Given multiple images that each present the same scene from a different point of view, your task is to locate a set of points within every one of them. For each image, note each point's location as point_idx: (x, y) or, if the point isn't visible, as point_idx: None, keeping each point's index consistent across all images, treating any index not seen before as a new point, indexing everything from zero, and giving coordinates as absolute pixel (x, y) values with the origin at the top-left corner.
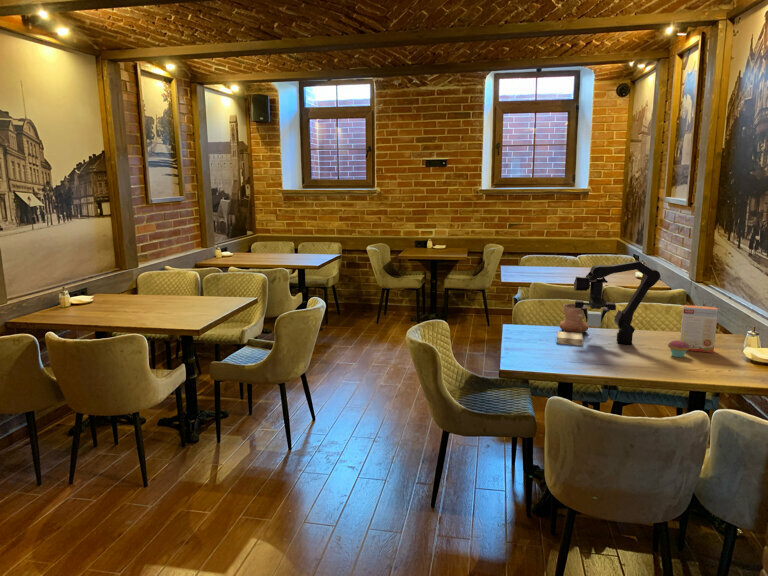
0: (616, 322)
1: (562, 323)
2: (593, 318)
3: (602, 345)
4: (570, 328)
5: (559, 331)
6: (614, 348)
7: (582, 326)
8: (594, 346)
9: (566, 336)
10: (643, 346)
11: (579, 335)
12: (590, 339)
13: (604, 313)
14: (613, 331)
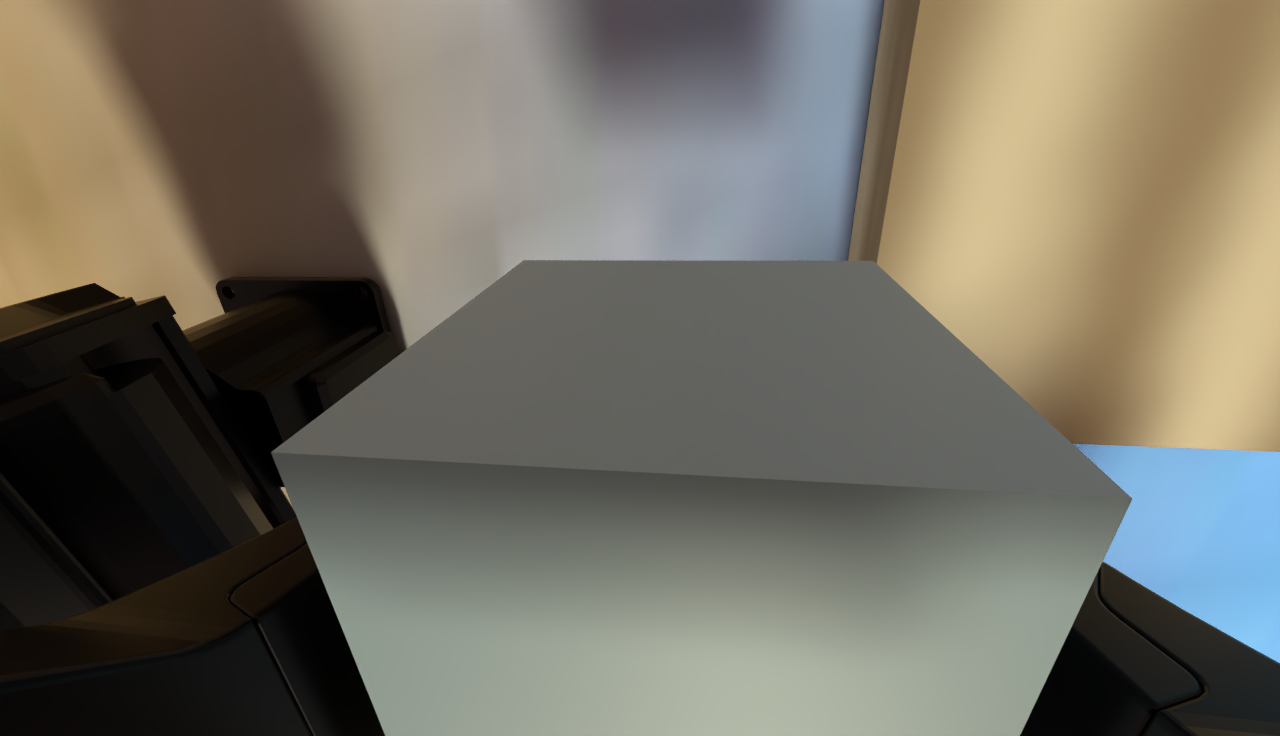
0: (175, 495)
1: None
2: (716, 348)
3: (561, 135)
4: None
5: (1237, 449)
6: (384, 11)
7: None
8: (680, 16)
9: (1246, 122)
10: (115, 267)
11: (924, 286)
12: None
13: (137, 615)
14: None
